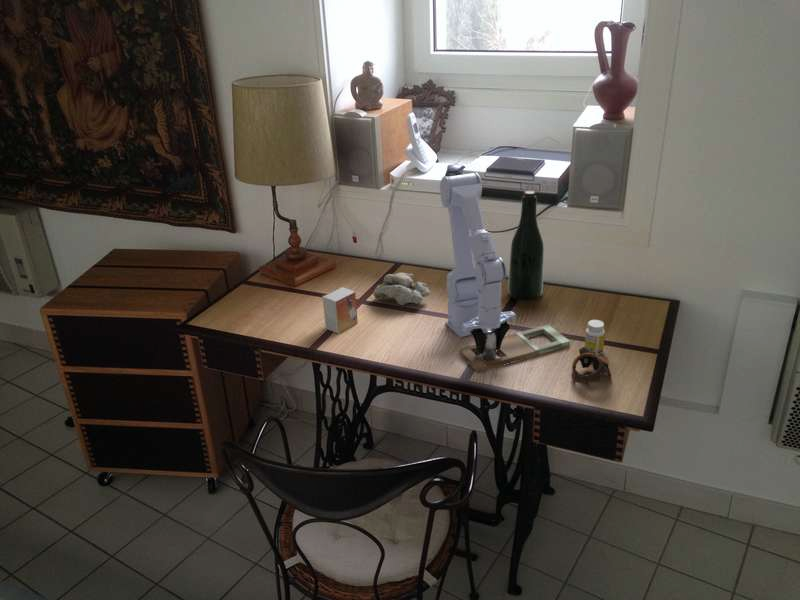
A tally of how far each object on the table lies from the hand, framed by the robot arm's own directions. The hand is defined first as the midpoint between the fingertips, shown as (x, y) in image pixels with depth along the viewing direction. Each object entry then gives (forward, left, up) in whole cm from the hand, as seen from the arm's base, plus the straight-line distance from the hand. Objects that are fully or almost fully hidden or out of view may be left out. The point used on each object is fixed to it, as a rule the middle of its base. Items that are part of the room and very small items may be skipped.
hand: (488, 349), depth 178 cm
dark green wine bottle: (-26, +28, -3) cm, 38 cm away
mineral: (-40, -7, -3) cm, 41 cm away
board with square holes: (0, +8, -2) cm, 8 cm away
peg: (0, 0, -2) cm, 2 cm away
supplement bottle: (+10, +26, -3) cm, 28 cm away
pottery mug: (+19, +18, -3) cm, 26 cm away
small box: (-34, -29, -3) cm, 45 cm away
